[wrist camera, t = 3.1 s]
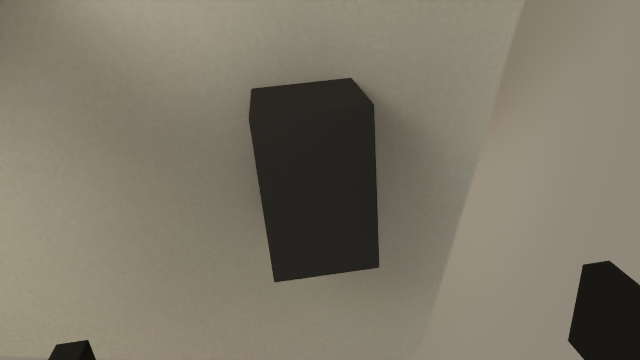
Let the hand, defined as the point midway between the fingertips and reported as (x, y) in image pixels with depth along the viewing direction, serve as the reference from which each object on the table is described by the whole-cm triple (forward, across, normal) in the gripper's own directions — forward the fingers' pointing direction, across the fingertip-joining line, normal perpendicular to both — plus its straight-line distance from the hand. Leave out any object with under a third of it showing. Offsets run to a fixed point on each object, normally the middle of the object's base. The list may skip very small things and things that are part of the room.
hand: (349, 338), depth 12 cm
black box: (+13, 0, 0) cm, 13 cm away
